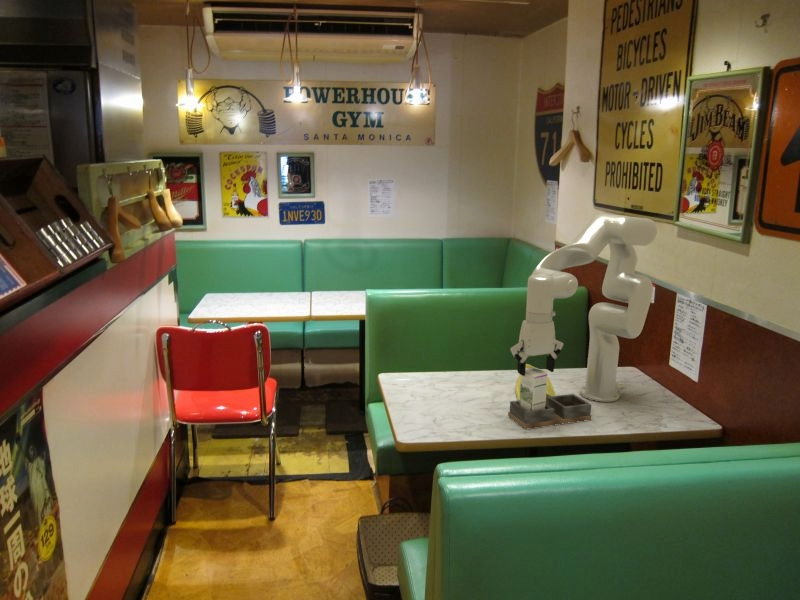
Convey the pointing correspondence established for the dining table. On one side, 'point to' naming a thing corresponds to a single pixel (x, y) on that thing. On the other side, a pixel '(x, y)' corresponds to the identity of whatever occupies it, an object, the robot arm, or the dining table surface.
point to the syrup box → (533, 389)
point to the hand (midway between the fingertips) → (535, 372)
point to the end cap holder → (552, 412)
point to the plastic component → (549, 389)
